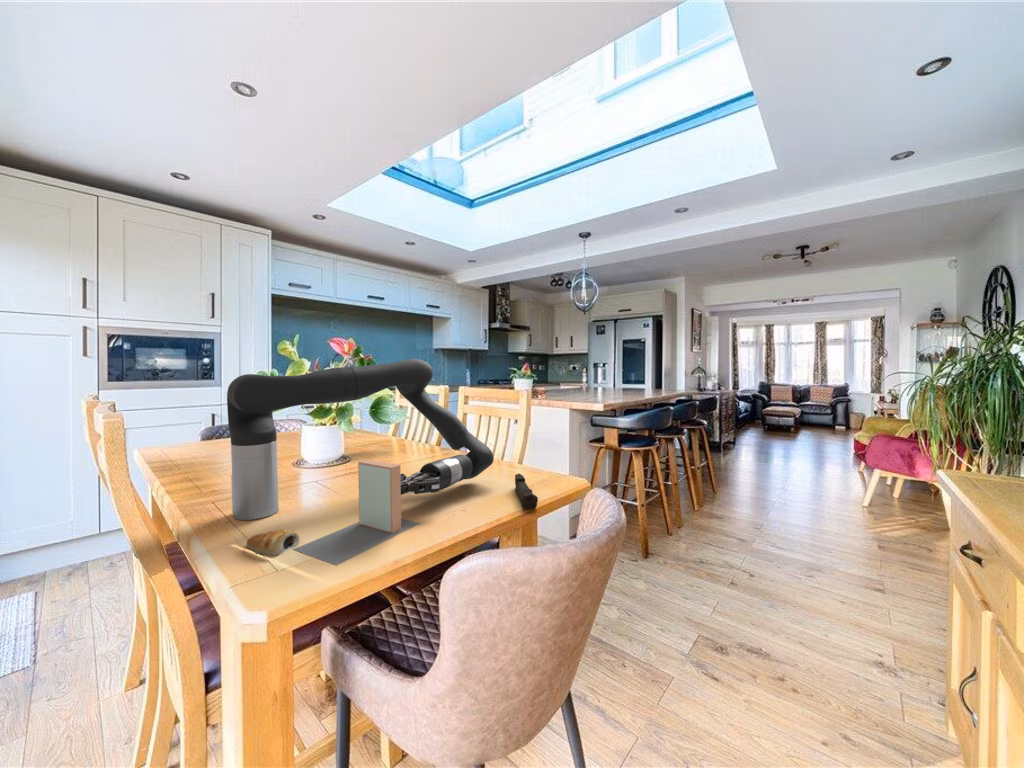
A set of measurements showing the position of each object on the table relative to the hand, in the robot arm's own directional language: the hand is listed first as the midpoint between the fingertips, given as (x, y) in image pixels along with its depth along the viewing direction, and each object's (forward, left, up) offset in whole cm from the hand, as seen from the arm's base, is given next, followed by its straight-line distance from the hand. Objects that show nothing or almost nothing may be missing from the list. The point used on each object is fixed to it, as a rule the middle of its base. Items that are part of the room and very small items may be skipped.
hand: (392, 492), depth 93 cm
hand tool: (+17, +30, -7) cm, 35 cm away
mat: (0, -9, -7) cm, 11 cm away
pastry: (-11, -21, -7) cm, 25 cm away
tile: (0, -4, -7) cm, 8 cm away
